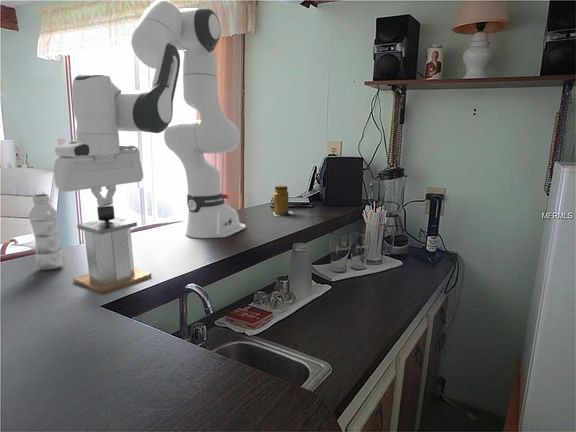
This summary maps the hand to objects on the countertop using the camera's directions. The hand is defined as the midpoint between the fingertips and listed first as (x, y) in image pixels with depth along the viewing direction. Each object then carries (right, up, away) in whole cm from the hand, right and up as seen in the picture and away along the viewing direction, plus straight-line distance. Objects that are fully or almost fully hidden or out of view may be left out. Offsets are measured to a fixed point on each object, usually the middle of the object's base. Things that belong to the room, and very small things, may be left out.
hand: (105, 205), depth 97 cm
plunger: (0, -17, +4) cm, 17 cm away
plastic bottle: (-20, -17, +12) cm, 29 cm away
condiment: (+42, -2, +77) cm, 88 cm away
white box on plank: (0, -19, +4) cm, 19 cm away
